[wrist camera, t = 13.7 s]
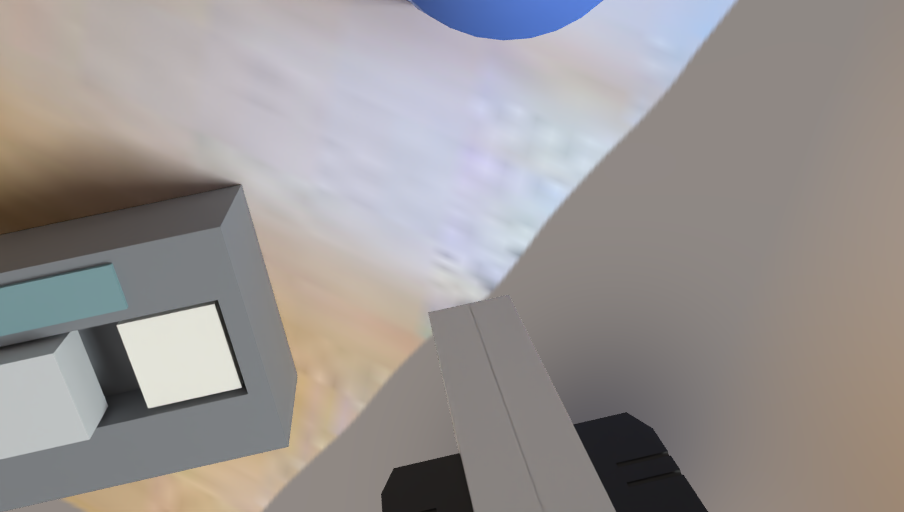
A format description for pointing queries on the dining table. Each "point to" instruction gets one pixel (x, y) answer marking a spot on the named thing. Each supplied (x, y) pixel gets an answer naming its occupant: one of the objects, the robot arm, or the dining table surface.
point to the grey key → (47, 394)
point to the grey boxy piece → (134, 295)
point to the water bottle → (505, 16)
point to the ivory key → (181, 353)
